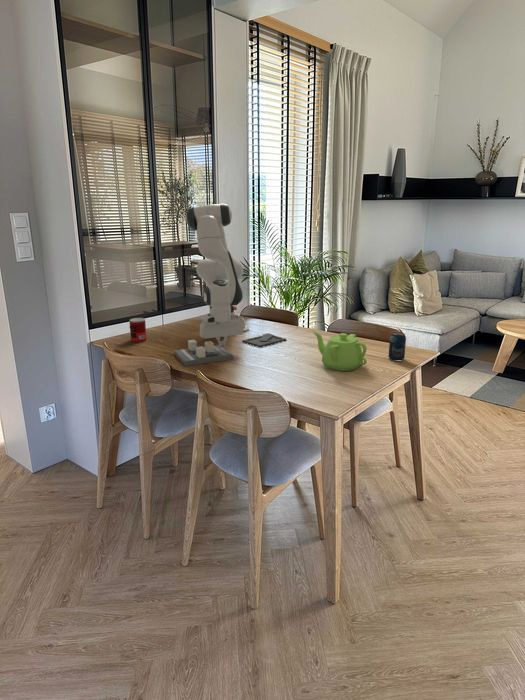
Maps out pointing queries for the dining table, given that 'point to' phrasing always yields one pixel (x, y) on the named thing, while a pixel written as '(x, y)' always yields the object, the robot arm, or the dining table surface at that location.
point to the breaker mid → (209, 347)
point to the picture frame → (264, 340)
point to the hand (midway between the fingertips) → (221, 345)
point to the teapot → (342, 352)
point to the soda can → (397, 346)
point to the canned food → (138, 329)
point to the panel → (191, 358)
